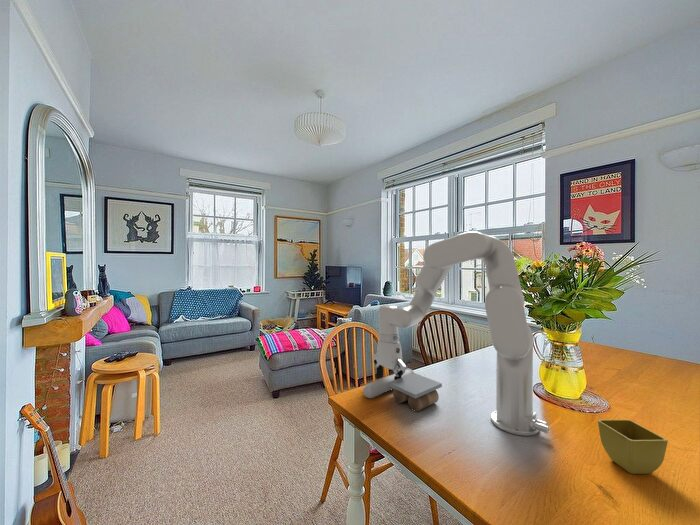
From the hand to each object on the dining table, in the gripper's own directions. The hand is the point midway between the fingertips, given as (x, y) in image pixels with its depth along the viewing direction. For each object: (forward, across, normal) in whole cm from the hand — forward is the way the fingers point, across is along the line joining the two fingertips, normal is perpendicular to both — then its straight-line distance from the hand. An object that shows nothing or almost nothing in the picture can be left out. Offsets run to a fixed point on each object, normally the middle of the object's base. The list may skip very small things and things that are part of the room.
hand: (388, 381), depth 110 cm
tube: (+3, 0, 0) cm, 3 cm away
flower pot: (+3, -65, -16) cm, 67 cm away
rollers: (+3, -13, 0) cm, 13 cm away
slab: (-3, -13, 0) cm, 13 cm away
